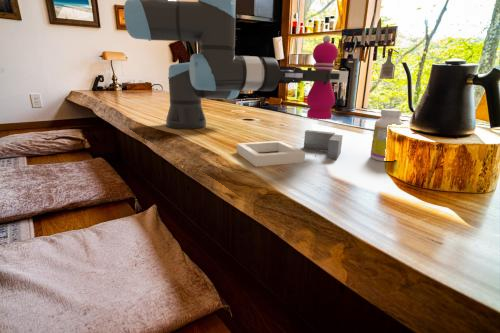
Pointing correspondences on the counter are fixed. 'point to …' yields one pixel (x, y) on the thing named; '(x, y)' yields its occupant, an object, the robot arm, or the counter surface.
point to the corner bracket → (324, 142)
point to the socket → (283, 157)
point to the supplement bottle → (383, 132)
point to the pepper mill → (321, 94)
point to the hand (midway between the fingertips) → (339, 76)
